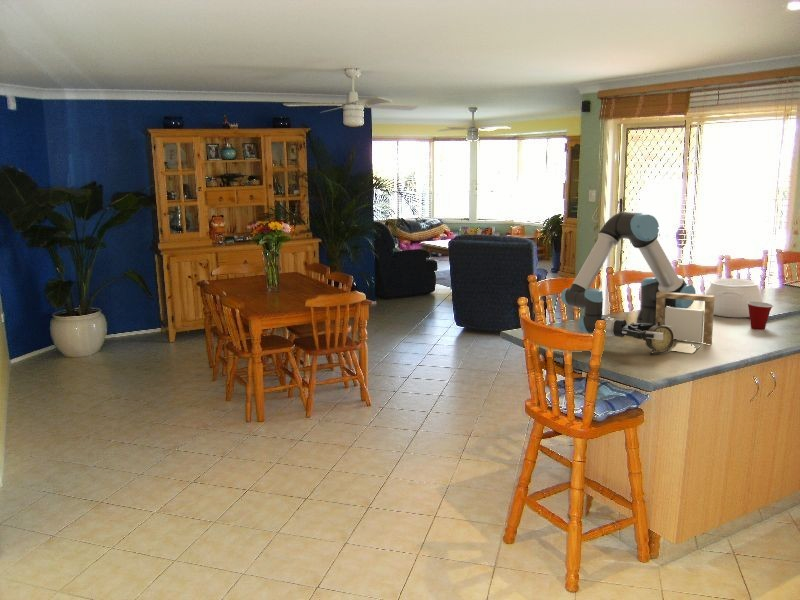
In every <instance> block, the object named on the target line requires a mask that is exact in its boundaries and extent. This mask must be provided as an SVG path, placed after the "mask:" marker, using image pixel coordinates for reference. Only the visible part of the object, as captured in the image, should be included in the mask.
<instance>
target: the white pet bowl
mask: <svg viewBox="0 0 800 600" xmlns="http://www.w3.org/2000/svg"><path fill="white" fill-rule="evenodd" d="M709 282H710V285H709V286H708V288H707V289H706V292H705V295H714V296H715V299H714V313H713V316H714V315H715V316H718V317H724V318H735V319H737V318H738V319H741V318H750V316H749V308H748V304H747V302H750V301H754V302H764V301H763V300H764V299H763V293H762V291H761V290H760V288H759V285H760V282H759V281H755V280H752V279H751V280H750V279H745V278H744V279H742V278H716V279H711V280H710V281H709Z"/></svg>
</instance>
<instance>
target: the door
mask: <svg viewBox="0 0 800 600" xmlns="http://www.w3.org/2000/svg"><path fill="white" fill-rule="evenodd" d="M704 312H705V309H696V308H695V309H694V308H693V309H692V308H687V309H685V308H674V307H669V306H667V307H666V308H665V326H672V332H673V336H674V339H678V340H677V341H681V340H687V341H686V342H690V341H694V342H693V343H699V342H700V343H699V344H701V343H703V331H704Z"/></svg>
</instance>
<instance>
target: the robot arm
mask: <svg viewBox="0 0 800 600" xmlns="http://www.w3.org/2000/svg"><path fill="white" fill-rule="evenodd" d="M659 228H660V226H659V222H658V220H657V218H656V217H655V216H654V215H653V214H650V213H646V212H629V211H628V212H627V211H621V212H618V213H616V214H614V215H612V216H611V217H610V218H609V219H608V220H607V221H606V222H605V223H604V225H602V227H601V229H600V231H599V232H598V234H597V237H598V238H597V240H596V242H595V243H594V245H593V247H592V248H591V251H590V252H589V254H588V256H587V258H586V259H585V261H584V263H583V264H582V266H581V268H580V270H579V272H578V274H577V275H576V277H575V278H574V280H573V282H572V284H571V285H570V287H567V288H565V289H563V290H562V292H561V293H560V300H561V302H562V303H563V304H564V305H567V306H569V307H575V308H578V309H583V310H584V312H583V313H584V314H583V315H581V316H580V317H579V319H578V324H577V326H578V330H579V331H580V332H582V333H586V334H590V335H591V334H592V333H593V331H594V329H595V323H596V321H597V320H604V321H606V323H607V325H606V335H605V336H609V337H610V336H611V337H614V336H615V337H617V338H618V337H619V338H624V337H625V336H627V337H631V338H635V339H639V340H642V341H645V337H646V338H648V339H657V340H663V333H657V332H648V330H649V329H650V328H651V327H652V326H654V325H656V298H657V297H656V293H657V292H659V291H660V292H674V293H687V294H697V292H696V289H695V286H693V285H692V284H689V283H687V282H686V281H685V279H684V277H683V276H681V275H679V274H677V273H676V271H675V269H674V267H673V265H672V263H671V262H670V260H669V258H668V256H667V255H666V253H665V251H664V249H663V247H662V246H661V244H660V242H659V240H658V237H659V231H660V229H659ZM622 239H625V240H626V239H627V240H629V241H630V243H631V245H632V246H633V248H635V249H638V250H639V251H640V253H641V255H642V257H643V259H644V260H645V262H646V263H647V265H648V266H649V269H650V270H651V273H652V274H653V275H654V276H651V277H645V278H643V279H642V281H641V285H640V286H641V287H640V289H641V290H640V294H641V295H640V296H641V297H640V309H639V311H638V312H639V313H638V314H637V317H636V322H631V323H629V324H628V322H627V321H626V319H622V318H613V317H610V316H608V317H604V316H603V306H604V305H603V303H604V302H603V301H604V298H603V297H604V295H603V294H604V293H603V291H602V290H601V289H600V288H591V287H592V285H593V283H594V281H595V279H596V277H597V276H598V274H599V272H600V271H601V268H602V267H603V265H604V264H605V261H606V260H607V259H608V256H609V255H610V253H611V251H612V250H613V248H614V247H615V246H617V245H618V244H619V242H620V241H621V240H622ZM694 302H695V300H683V299H670V298H665V308H666V307H674V308H685V309H689V308H690V307H691V306H692V305H693V303H694ZM662 326H665V320H664V325H662ZM667 327H669V328H670V329H671V331H672V326H667Z"/></svg>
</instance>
